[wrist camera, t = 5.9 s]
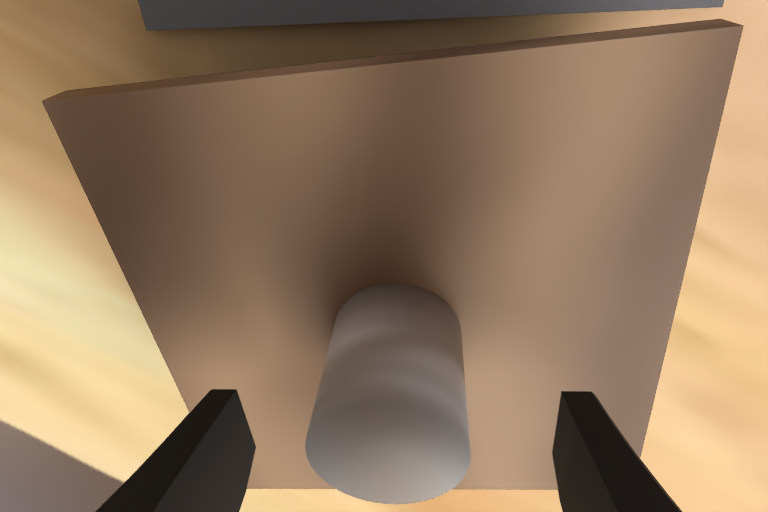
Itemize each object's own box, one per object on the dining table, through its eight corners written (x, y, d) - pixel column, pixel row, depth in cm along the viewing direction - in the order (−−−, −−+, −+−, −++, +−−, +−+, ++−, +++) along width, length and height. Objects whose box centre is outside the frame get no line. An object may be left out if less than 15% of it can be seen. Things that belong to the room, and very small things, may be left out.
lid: (720, 18, 9) (910, 74, 5) (624, 466, 16) (680, 622, 12) (66, 90, 11) (-119, 169, 7) (233, 467, 18) (182, 605, 14)
